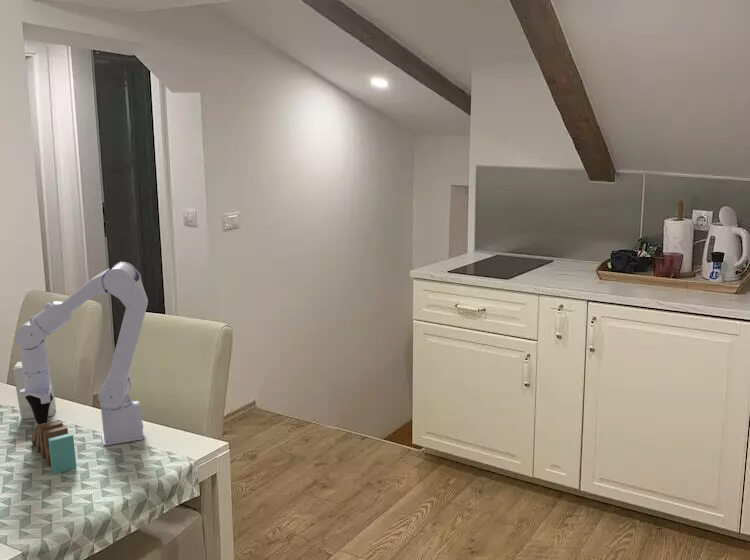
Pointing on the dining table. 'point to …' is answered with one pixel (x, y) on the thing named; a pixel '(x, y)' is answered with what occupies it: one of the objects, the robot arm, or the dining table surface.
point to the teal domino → (62, 453)
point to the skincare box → (23, 403)
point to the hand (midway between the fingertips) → (41, 422)
